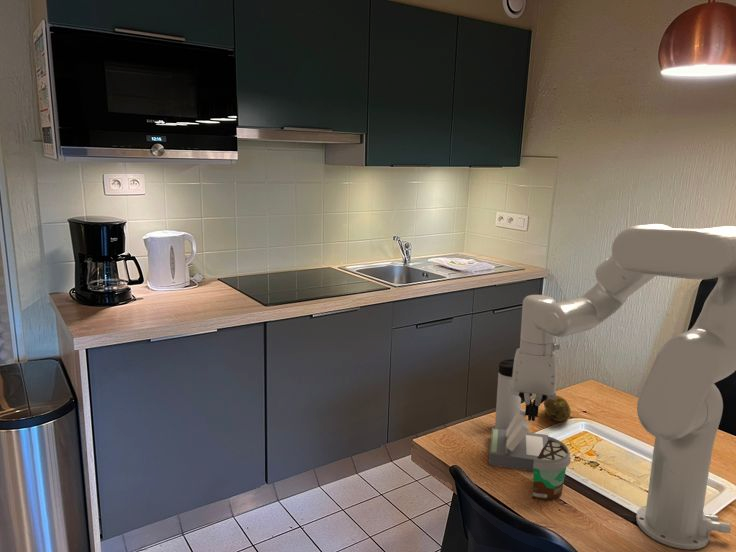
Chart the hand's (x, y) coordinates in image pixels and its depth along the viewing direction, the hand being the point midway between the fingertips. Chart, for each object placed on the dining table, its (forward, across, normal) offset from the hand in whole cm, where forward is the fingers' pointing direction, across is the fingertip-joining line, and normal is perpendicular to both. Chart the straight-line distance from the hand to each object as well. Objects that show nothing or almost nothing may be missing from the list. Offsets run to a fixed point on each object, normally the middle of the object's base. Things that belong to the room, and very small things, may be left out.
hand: (531, 418), depth 133 cm
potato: (+10, -8, -22) cm, 26 cm away
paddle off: (+6, +5, +6) cm, 10 cm away
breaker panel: (+10, +2, +1) cm, 10 cm away
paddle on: (+6, +5, 0) cm, 8 cm away
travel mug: (+10, +5, -11) cm, 16 cm away
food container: (+10, -5, +16) cm, 19 cm away
